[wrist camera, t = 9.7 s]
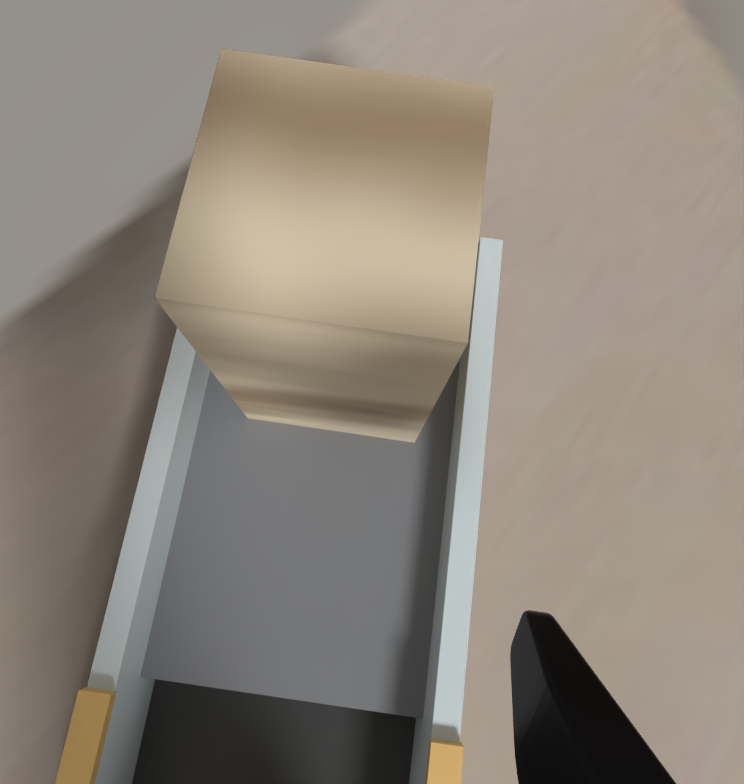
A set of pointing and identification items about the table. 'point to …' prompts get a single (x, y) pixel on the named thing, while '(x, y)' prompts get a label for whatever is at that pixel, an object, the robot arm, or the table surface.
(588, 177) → the table surface
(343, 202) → the beech block
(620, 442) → the table surface
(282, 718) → the channel
